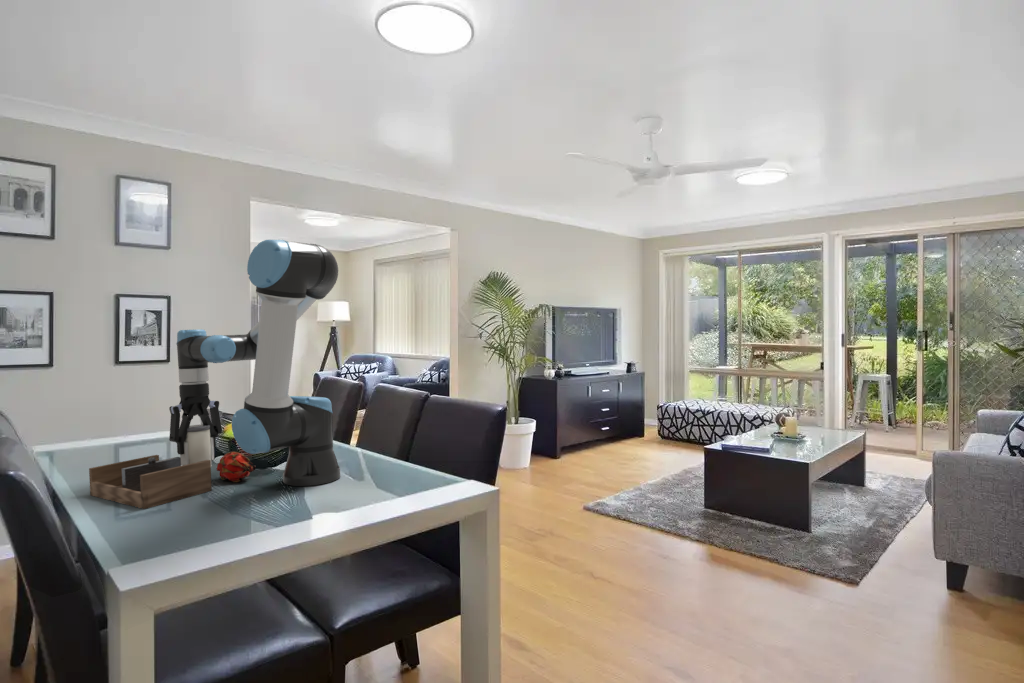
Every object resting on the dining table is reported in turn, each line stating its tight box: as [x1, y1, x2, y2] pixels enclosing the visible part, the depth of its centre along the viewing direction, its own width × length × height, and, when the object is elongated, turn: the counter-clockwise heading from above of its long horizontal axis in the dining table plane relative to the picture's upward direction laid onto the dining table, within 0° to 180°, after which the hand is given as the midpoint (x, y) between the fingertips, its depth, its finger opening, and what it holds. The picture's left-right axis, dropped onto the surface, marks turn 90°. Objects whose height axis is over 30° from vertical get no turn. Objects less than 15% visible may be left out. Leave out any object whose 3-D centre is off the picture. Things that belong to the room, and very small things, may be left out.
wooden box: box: [88, 454, 212, 510], centre depth 153 cm, size 25×17×8 cm
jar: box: [185, 423, 213, 468], centre depth 170 cm, size 7×7×12 cm
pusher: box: [122, 456, 182, 492], centre depth 153 cm, size 2×14×8 cm, turn 150°
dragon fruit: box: [215, 451, 256, 483], centre depth 165 cm, size 8×8×12 cm
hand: (197, 462), depth 171 cm, fingers closed on jar, 7 cm apart
